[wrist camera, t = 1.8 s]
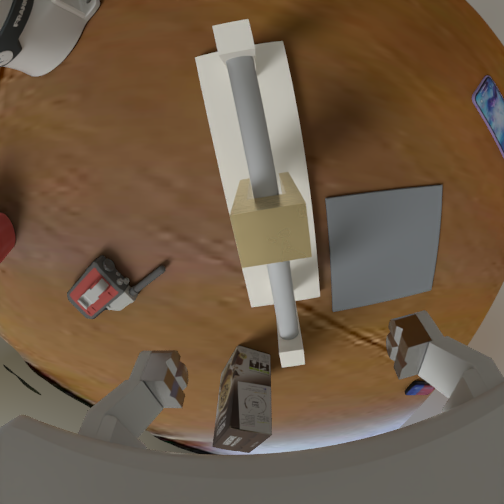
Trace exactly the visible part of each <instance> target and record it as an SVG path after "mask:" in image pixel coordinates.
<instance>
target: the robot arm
mask: <svg viewBox="0 0 504 504" xmlns="http://www.w3.org/2000/svg"><path fill="white" fill-rule="evenodd" d="M99 6H100V0H0V67H8V68H13V69H16V70H19V71H22V72H24V73H26V74H28V75H30V76H41V75H44V74H46V73H48V72H50V71H51V70H53V69H54V68H56V67H57V66H58V65H59V64H60V63H61V62H62V61H63V60H64V59H65V58H66V57H67V55H68V54H69V53H70V52H71V50H72V49H73V47H74V46H75V44H76V42H77V41H78V39H79V37H80V35H81V33H82V31H83V28H84V26H85V24H86V23H87V21H88V20H89V19H90V18H91V17H92V16H93V14H94V13H95V12H96V11H97V9H98V8H99ZM388 328H389V330H390V333H389V334H388V335H387V339H386V347H387V352H388V355H389V357H390V359H392V360H393V361H395V363H394V369H395V371H396V374H397V376H398V379H403V378H407V377H410V376H414V375H417V374H418V375H419V376H420V377H421V378H422V379H424V380H425V381H426V382H428V383H429V384H430V385H432V386H433V387H434V388H436V389H437V390H438V391H440V392H441V393H442V394H444V395H445V396H446V397H447V398H449V399H448V401H447V403H446V404H445V406H444V408H443V409H442V413H441V414H438V415H436V416H433V417H431V418H428V419H426V420H423V421H420V422H417V423H415V424H412V425H409V426H406V427H403V428H400V429H397V430H393V431H390V432H387V433H383V434H380V435H376V436H372V437H369V438H365V439H361V440H356V441H352V442H347V443H343V444H338V445H332V446H327V447H321V448H315V449H308V450H300V451H292V452H282V453H270V454H253V455H204V454H187V453H175V452H166V451H157V450H150V449H146V448H147V447H146V446H145V445H144V444H143V443H142V442H141V441H140V440H139V439H138V437H139V436H140V435H141V434H142V433H143V432H144V430H145V429H146V428H147V427H148V426H149V425H150V424H151V422H152V421H153V420H154V419H155V418H156V417H157V415H158V414H159V413H160V412H161V411H162V410H163V408H182V406H183V402H184V398H185V394H184V392H183V389H185V388H186V387H187V384H188V371H187V368H186V366H185V364H184V363H182V362H180V357H181V356H180V355H179V353H178V351H175V350H170V351H142V352H141V353H140V354H139V356H138V359H137V361H136V363H135V366H134V368H133V370H132V373H131V375H130V378H129V380H125V381H124V382H123V383H121V384H120V385H119V386H118V387H117V388H115V389H114V390H113V391H112V392H110V393H109V394H108V395H107V396H105V397H104V398H103V399H102V400H100V401H99V402H98V403H97V404H95V405H94V406H93V407H92V408H90V409H89V410H88V411H87V414H86V416H85V418H84V421H83V423H82V426H81V428H80V430H79V433H78V434H76V433H73V432H70V431H66V430H63V429H60V428H57V427H55V426H52V425H49V424H46V423H44V422H41V421H38V420H36V419H33V418H31V417H29V416H26V415H19V416H18V417H16V418H14V419H12V420H11V421H9V422H8V423H6V424H5V425H3V426H2V427H1V428H0V504H504V377H503V376H502V374H501V372H500V371H499V369H498V368H497V366H496V364H495V363H494V361H493V360H492V358H490V357H488V356H486V355H484V354H482V353H480V352H478V351H476V350H474V349H472V348H470V347H468V346H466V345H464V344H462V343H460V342H458V341H456V340H454V339H452V338H450V337H448V336H446V337H444V336H443V335H442V333H441V332H440V330H439V329H438V327H437V326H436V324H435V323H434V321H433V320H432V318H431V317H430V315H429V314H428V313H427V311H425V310H424V311H420V312H417V313H414V314H410V315H406V316H402V317H399V318H395V319H391V320H390V322H389V327H388Z"/></svg>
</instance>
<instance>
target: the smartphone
mask: <svg viewBox="0 0 504 504" xmlns="http://www.w3.org/2000/svg"><path fill="white" fill-rule="evenodd" d="M472 101H473V103H474V105H475V107H476V108H477V110H478V112H479V113H480V115H481V116H482V118H483V120H484V122H485V123H486V125H487V127H488V129H489V130H490V132H491V134H492V136H493V138H494V140H495V142H496V143H497V145H498V147H499V149H500V151H501V154H502V156H503V158H504V99H503V97H502V95H501V93H500V91H499V90H498V88H497V86H496V85H495V83H494V81H493V80H492V78H491V77H490V76H485V77H484V78H483V80H482V81H481V83H480V84H479V86H478V87H477V89H476V90H475V92H474V93H473V95H472Z"/></svg>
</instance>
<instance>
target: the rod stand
mask: <svg viewBox="0 0 504 504" xmlns="http://www.w3.org/2000/svg"><path fill="white" fill-rule="evenodd" d="M212 27H213V32H214V36H215V41H216V45H217V50H218V52H214V53H210V54H206V55H202V56H198V57H195V60H196V65H197V70H198V74H199V79H200V84H201V89H202V93H203V98H204V103H205V107H206V112H207V117H208V121H209V126H210V130H211V135H212V139H213V144H214V148H215V153H216V157H217V162H218V166H219V171H220V175H221V180H222V184H223V188H224V193H225V197H226V202H227V206H228V210H229V215H230V213H231V210H232V206H233V203H234V199H235V196H236V192H237V189H238V185H239V182H240V180H243V179H248V178H250V183H251V188H252V193H253V198H254V199H255V198H261V197H267V196H273V195H279V194H282V190H281V184H280V178H279V173H284V172H289V174H290V176H291V177H292V179H293V181H294V183H295V184H296V186H297V188H298V190H299V192H300V193H301V195H302V197H303V199H304V201H305V202H306V209H307V217H308V225H309V234H310V243H311V253H312V257H309V258H303V259H296V260H290V261H284V262H277V263H271V264H265V265H258V266H252V267H245V268H242V270H243V274H244V278H245V282H246V287H247V291H248V295H249V299H250V303H251V307H258V306H265V305H272V304H274V306H275V312H276V319H277V332H278V346H279V355H280V361H281V366H282V368H283V367H290V366H297V365H304V364H305V360H304V350H303V343H302V337H301V331H300V325H299V319H298V314H297V308H296V302H295V301H298V300H304V299H310V298H316V297H320V288H319V274H318V262H317V250H316V240H315V230H314V221H313V212H312V203H311V195H310V187H309V180H308V173H307V165H306V159H305V152H304V146H303V139H302V133H301V127H300V122H299V116H298V110H297V105H296V100H295V95H294V89H293V85H292V80H291V75H290V70H289V66H288V61H287V57H286V52H285V48H284V44H283V41H277V42H269V43H262V44H255V45H254V41H253V37H252V32H251V28H250V24H249V20H248V19H246V20H240V21H234V22H229V23H224V24H220V25H215V26H212ZM230 219H231V218H230ZM232 228H233V227H232ZM233 232H234V231H233ZM236 245H237V244H236ZM237 249H238V248H237ZM241 266H242V265H241Z"/></svg>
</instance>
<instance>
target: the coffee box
mask: <svg viewBox="0 0 504 504" xmlns="http://www.w3.org/2000/svg"><path fill="white" fill-rule="evenodd" d="M271 435H272V418H271V370H270V355H269V354H266V353H262V352H259V351H255V350H252V349H249V348H245V347H242V346H237V347H236V349H235V351H234V353H233V354H232V356H231V358H230V360H229V361H228V363H227V365H226V366H225V368H224V370H223V372H222V373H221V380H220V388H219V397H218V405H217V414H216V422H215V431H214V439H213V447H216V448H221V449H226V450H232V451H241V452H247V453H249V452H251V451H252V450H253V449H255V448H256V447H257V446H258V445H260V444H261V443H262V442H264V441H265V440H266V439H267V438H268V437H270V436H271Z"/></svg>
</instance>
